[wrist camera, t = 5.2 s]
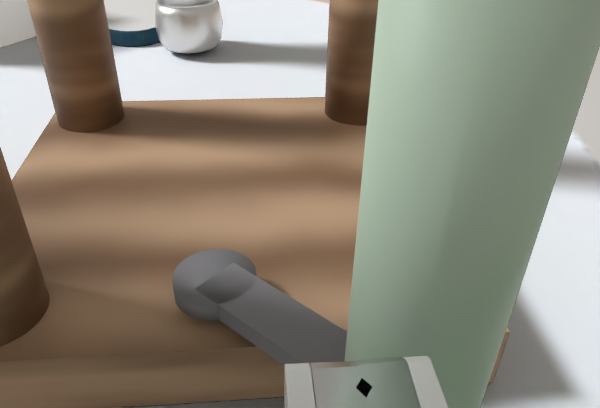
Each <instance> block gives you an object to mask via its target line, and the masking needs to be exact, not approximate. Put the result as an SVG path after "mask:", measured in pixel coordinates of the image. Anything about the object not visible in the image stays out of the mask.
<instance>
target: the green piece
mask: <svg viewBox="0 0 600 408" xmlns="http://www.w3.org/2000/svg"><path fill="white" fill-rule="evenodd" d="M599 47H600V0H379V1H378V11H377V22H376V32H375V43H374V54H373V64H372V75H371V85H370V96H369V106H368V117H367V128H366V138H365V149H364V159H363V170H362V180H361V191H360V202H359V212H358V223H357V233H356V244H355V255H354V265H353V276H352V286H351V297H350V307H349V318H348V329H347V331H345V330H344V329H342V328H341V327H339V326H337V325H336V324H334V323H332V322H331V321H329V320H327V319H326V318H324V317H322V316H321V315H319V314H318V313H316V312H314V311H313V310H311V309H309V308H308V307H306V306H304V305H303V304H301V303H299V302H298V301H296V300H295V299H293V298H291V297H290V296H288V295H286V294H285V293H283V292H281V291H280V290H278V289H276V288H275V287H273V286H271V285H270V284H268V283H267V282H265V281H263V280H262V279H260V278H258V277H257V274H256V268H255V266H254V264H253V262H252V261H251V260H250V259H249V258H248V257H246V256H245V255H243V254H241V253H239V252H236V251H233V250H228V249H209V250H204V251H200V252H198V253H195V254H193V255H191V256H189V257H187V258H186V259H184V260H183V261H182V262H181V263H180V264H179V265H178V266H177V267H176V269H175V270H174V273H173V276H172V284H173V291H174V297H175V302H176V304H177V306H178V307H179V309H180V310H181V311H182V312H184V313H185V314H187V315H188V316H190V317H193V318H196V319H199V320H205V321H217V320H220V321H221V322H222V323H224V324H225V325H227V326H228V327H230V328H231V329H233V330H234V331H235V332H237V333H238V334H240V335H241V336H243V337H244V338H245V339H247V340H248V341H250V342H251V343H253V344H254V345H255V346H257V347H258V348H260V349H261V350H263V351H264V352H265V353H267V354H268V355H270V356H271V357H273V358H274V359H275V360H277V361H278V362H280V363H281V364H283V365H284V366H285V364H295V363H309V364H310V363H316V362H345V361H356V360H365V359H378V358H392V357H402V358H403V357H414V356H428V357H429V358H430V359H431V361H432V364H433V367H434V370H435V372H436V375H437V378H438V381H439V383H440V386H441V389H442V392H443V394H444V397H445V400H446V403H447V405H448V408H480V407H481V404H482V401H483V398H484V395H485V392H486V389H487V386H488V383H489V380H490V377H491V374H492V371H493V368H494V365H495V362H496V359H497V356H498V353H499V350H500V347H501V344H502V341H503V338H504V335H505V332H506V329H507V326H508V323H509V320H510V317H511V314H512V311H513V307H514V304H515V301H516V298H517V295H518V292H519V289H520V286H521V283H522V280H523V277H524V274H525V271H526V268H527V265H528V262H529V259H530V256H531V253H532V250H533V247H534V244H535V241H536V238H537V235H538V232H539V229H540V226H541V223H542V220H543V217H544V214H545V211H546V208H547V205H548V202H549V199H550V195H551V192H552V189H553V186H554V183H555V180H556V177H557V174H558V171H559V168H560V165H561V162H562V159H563V156H564V153H565V150H566V147H567V144H568V141H569V138H570V135H571V132H572V129H573V126H574V123H575V120H576V117H577V114H578V111H579V108H580V105H581V102H582V99H583V96H584V93H585V90H586V87H587V83H588V80H589V77H590V74H591V71H592V68H593V65H594V62H595V59H596V56H597V53H598V50H599Z"/></svg>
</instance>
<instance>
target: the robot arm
mask: <svg viewBox="0 0 600 408" xmlns="http://www.w3.org/2000/svg"><path fill="white" fill-rule="evenodd" d="M284 406H285V408H448V405H447V403H446V400H445V397H444V394H443V392H442V389H441V386H440V383H439V381H438V378H437V375H436V372H435V370H434V367H433V364H432V361H431V359H430V358H429V357H428V356H414V357H403V358H402V357H392V358H378V359H365V360H356V361H345V362H316V363H310V364H309V363H295V364H285V366H284Z"/></svg>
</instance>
